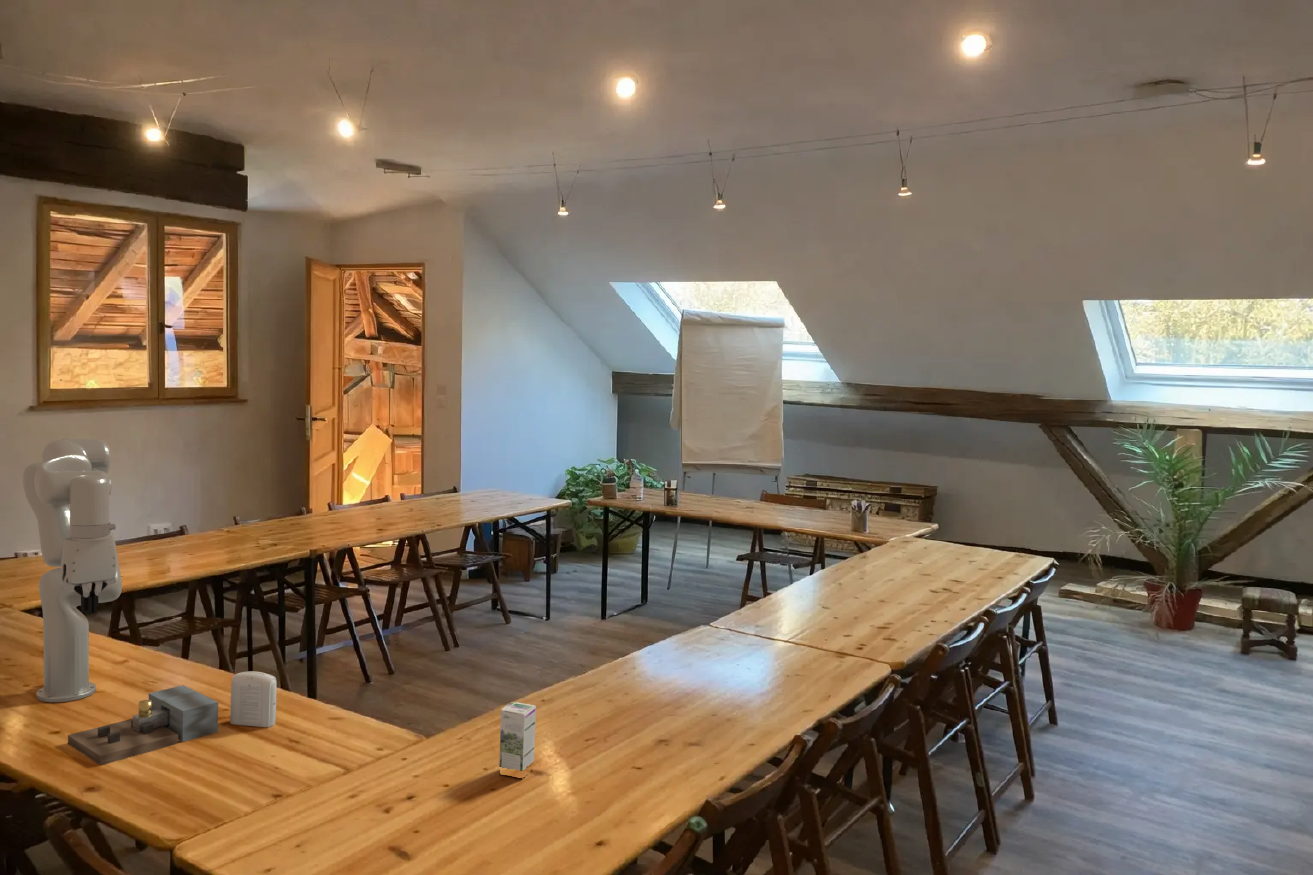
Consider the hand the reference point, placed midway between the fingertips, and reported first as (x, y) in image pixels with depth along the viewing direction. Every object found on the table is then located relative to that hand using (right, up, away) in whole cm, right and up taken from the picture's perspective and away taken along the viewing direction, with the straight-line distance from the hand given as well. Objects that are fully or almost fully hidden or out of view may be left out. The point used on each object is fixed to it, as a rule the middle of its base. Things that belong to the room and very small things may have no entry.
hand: (89, 612), depth 214 cm
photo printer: (+32, -28, +11) cm, 44 cm away
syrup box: (+96, -33, -9) cm, 102 cm away
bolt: (+15, -25, +3) cm, 30 cm away
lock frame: (+13, -28, 0) cm, 30 cm away
